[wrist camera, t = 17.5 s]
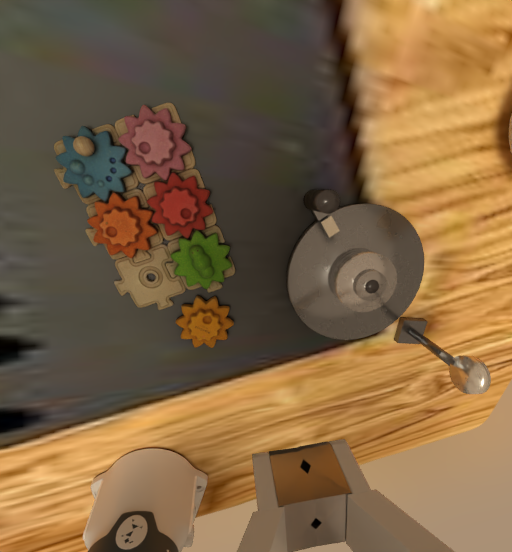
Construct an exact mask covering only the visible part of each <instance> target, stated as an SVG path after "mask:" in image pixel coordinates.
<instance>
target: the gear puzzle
mask: <svg viewBox="0 0 512 552" xmlns="http://www.w3.org/2000/svg"><path fill="white" fill-rule="evenodd" d="M152 111H153V112H152ZM152 111H151V110H150V109H149V108H148V107H147V106H146V105H142V107H141V109H140V113H139V118H136V117H135V115H131V116H125V117H124V118H122V119H120V120H118V121H116V123H115V127H114V126H112V125H110V124H106V125H103V126H100V127H97V128H94V129H92V132H91V131H90V130H89V129H88V128H87V127H85V126H82V127H81V128H80V130H79V133H78V137H77V138H74V137H70V136H63V137H62V139H63V140H60V141H58V142H56V143H55V145H54V149H55V151H56V153H57V155H58V156H57V157H56V160H57V161H58V162H59V163H60V164H61V165H62V166H63V168H62V169H55V170H54V171H55V174H56V176H57V177H58V179H59V181H60V183H61V185H62V187H63V188H64V189H67V188H69V187H70V186H71V185H74V187H75V189H76V191H77V193H78V195H79V197H80V198H81V200H82V201H83V202H84V203H85V204H88V205H89V206H88V207H87V209H86V210H87V213H88V215H89V217H90V218H89V219H88V220H87V221H88V223H89V224H90V225H91V226H92V227H94V228H88V229H86V233H87V235H88V237H89V238H90V240H91V242H92V244H93V245H94V246H96V245H98V244H99V243H101V244H102V243H103V244H104V245H105V247H106V249H107V251H108V253H109V255H110V256H111V258H112V259H117V260H116V262H115V266H116V268H117V270H118V272H119V274H120V276H121V278H122V280H116V281H114V283H115V285H116V287H117V289H118V291H119V293H120V295H122V296H123V295H124V294H125V293H126V292H129V293H130V295H131V297H132V299H133V301H134V303H135V304H136V306H138V307H145V306H148V305H151V304H153V303H157V304H158V309H159V310H161V309H164V308H167V307H169V306H172V305H173V304H174V303H173V301H172V300H171V299H170V297H173V296H176V295H179V294H181V293H183V292H185V290H186V288H187V289H189V290H193V289H196V288H199V287H201V286H202V287H203V288H205V289H207V291H208V292H212V291H215V290H218V289H220V288H222V284H221V283H220V282H223V281H224V278H226V277H229V276H232V275H233V274H234V273H235V267H234V264H233V262H232V259H231V257H228V258H225V257H226V255H227V254H228V252H229V250H230V246H227V245H219V244H218V243H224V242H225V240H224V238H223V235H222V232H221V230H220V228H219V227H218V226H216V225H215V224H216V222H217V219H216V216H215V213H214V210H213V207H212V205H211V204H210V205H207V204H206V203H205V202H206V200H207V199H208V197H209V194H210V191H209V190H206V189H204V188H205V186H204V183H203V181H202V178H201V175H200V173H199V171H198V170H196V169H194V166H195V158H194V155H193V153H192V148H191V147H190V145H189V144H187V143H186V142H185V141H183V140H182V137H183V135H184V133H185V130H186V126H185V125H184V124H181V121H180V118H179V115H178V113H177V110H176V108H175V106H174V105H173V104H171V103H165V104H162V105H159V106H156V107H153V108H152ZM139 182H141V183H143V184H146V185H145V187H144V188H143V191H142V190H140V189H137V187H138V185H139ZM164 238H165V239H166V240H169V243H168V245H165V244H163V241H164ZM149 273H153V274H154V275H155V276H156V279H155V280H149V279H148V277H147V275H148V274H149ZM182 312H183V314H184V315H183V316H181V317H179V318H178V319H177V320H176V324H177V325H179V326H180V327H181V328H184V329H183V331H182V333H181V338H182V339H192V342H193V345H194V347H198V346H200V345H202V344H203V343H205V344H206V345H208V346H209V347H211V348H213V347H214V345H215V343H216V340H217V339H218V340H226V339H227V337H228V336H227V332H226V329H228V328H230V327H231V326H233V324H234V323H233V321H232V320H231V319H230V318H228V317H226V316H227V315H228V313H229V306H219V305H218V300H217V298H216V296H214V297H212V298H210V299H209V300H208V301H205V300H204V299H203V298H201V297H200V296H196V298H195V300H194V304H193V305H190V304H183V305H182Z"/></svg>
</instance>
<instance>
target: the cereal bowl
mask: <svg viewBox="0 0 512 552" xmlns="http://www.w3.org/2000/svg"><path fill="white" fill-rule="evenodd" d="M509 145H510V149H511V153H512V115H511V118H510V124H509Z"/></svg>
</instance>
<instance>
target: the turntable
mask: <svg viewBox="0 0 512 552" xmlns="http://www.w3.org/2000/svg"><path fill="white" fill-rule="evenodd" d="M304 205H305V206H306V208H308V209H309V210H311V211H312V213H313V215H314V217H315V219H316V221H315V222H313V223H312V224H311V225H310V226H309V227H308V228H307V229H306V230H305V232H304V233H303V234H302V235H301V237H300V238H299V240H298V241H297V243H296V245H295V247H294V249H293V251H292V253H291V256H290V259H289V262H288V267H287V276H286V283H287V291H288V295H289V299H290V301H291V304H292V306H293V308H294V309H295V311H296V313H297V314H298V316H299V317H300V318H301V320H302V321H303V322H304V323H305V324H306V325H307V326H308V327H309V328H311V329H312V330H314V331H315V332H317V333H319V334H321V335H323V336H326V337H329V338H334V339H342V340H350V339H358V338H363V337H366V336H370V335H372V334H375V333H377V332H379V331H381V330H383V329H385V328H386V327H388V326H389V325H390V324H392V323H393V322H394V321H395V320H397V319H398V318H399V317H400V316H401V315H402V314H403V313H404V312H405V311H406V309H407V308H408V307H409V305H410V304H411V302H412V301H413V299H414V297H415V296H416V293H417V291H418V289H419V286H420V283H421V280H422V276H423V271H424V253H423V248H422V244H421V241H420V238H419V236H418V234H417V232H416V230H415V229H414V227H413V226H412V225H411V223H410V222H409V221H408V220H407V219H406V218H405V217H403V216H402V215H401V214H399V213H398V212H396V211H394V210H392V209H390V208H387V207H384V206H381V205H374V204H351V205H346V206H342V207H339V205H340V197H339V195H338V193H337V192H336V191H334V190H310V191H308V192H307V193H306V194H305V196H304ZM338 207H339V208H338ZM354 248H364V249H368V250H370V251H373V252H375V253H378V254H380V255H383V256H385V257H386V258H388V259H389V260H390V261H391V262H392V263H393V265H394V267H395V269H396V272H397V284H396V288H395V290H394V292H393V294H392V296H391V297H390V299H389V300H388V301H387V302H386V303H385V304H384V305H382V306H381V307H379V308H377V309H375V310H373V311H369V312H356V311H353V310H351V309H349V308H348V307H346V306H345V305H344V304H343V303H342V302H341V301H340V300H339V299H338V298H337V297H335V296H334V294H333V293H332V292H331V290H330V288H329V284H328V274H329V270H330V268H331V266H332V264H333V262H334V261H335V260H336V258H337V257H338V256H340V255H341V254H342V253H344V252H346V251H348V250H350V249H354Z"/></svg>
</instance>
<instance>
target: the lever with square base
mask: <svg viewBox="0 0 512 552" xmlns="http://www.w3.org/2000/svg"><path fill="white" fill-rule="evenodd" d="M426 324H427V321H426V320H424V319H421V318H402V317H400V320H399V324H398V327H397V331H396V334H395V338H394V340H395V341H396V342H397V343H409V344H420V343H421V344H422V345H423V346H424V347H426V348H427V349H428V350H430V351H431V352H432V353H433V354H435V355H436V356H437V357H439V358H440V359H441V360H443V361H444V362H445V363H446V364H448V365H449V373H450V377H451V380H452V382H453V384H454V385H455V386H456V387H457V388H458V389H459V390H460V391H462V392H463V393H466V394H482V393H484V392H486V391H487V390H488V388H489V386H490V382H491V378H490V373H489V370H488V368H487V367H486V365H485V364H484V363H483V362H482V361H481V360H480V359H478V358H476V357H474V356H456V357H455V358H454V357H452V356H451V355H450V354H448V353H447V352H445V351H444V350H443V349H441V348H440V347H439V346H437V345H436V344H434V343H433V342H432V341H430V340H429V339H428V338H426V337H425V336H423V334H424V330H425V327H426Z"/></svg>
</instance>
